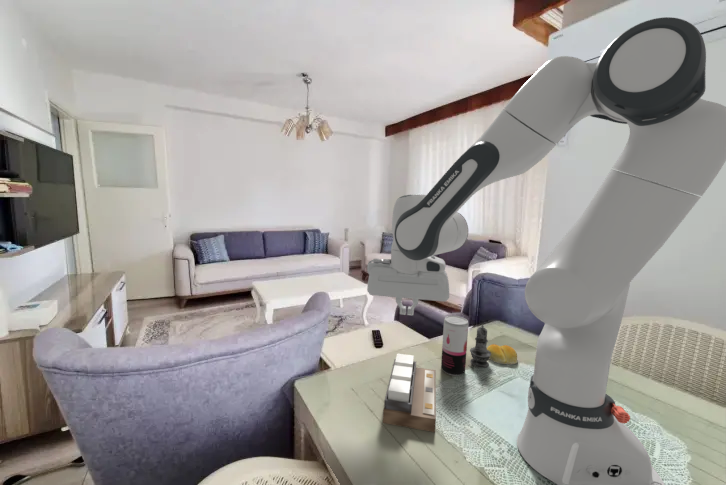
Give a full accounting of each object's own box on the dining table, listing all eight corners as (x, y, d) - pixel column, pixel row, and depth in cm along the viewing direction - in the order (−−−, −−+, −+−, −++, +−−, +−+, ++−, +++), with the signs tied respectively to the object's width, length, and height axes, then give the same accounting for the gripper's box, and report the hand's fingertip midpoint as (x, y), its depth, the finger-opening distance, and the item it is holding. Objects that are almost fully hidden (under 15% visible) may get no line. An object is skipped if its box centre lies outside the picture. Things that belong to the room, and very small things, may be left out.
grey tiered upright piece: (486, 358, 95) (490, 321, 93) (492, 369, 89) (496, 329, 87) (467, 357, 96) (469, 320, 94) (471, 367, 90) (474, 328, 88)
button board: (434, 380, 83) (435, 363, 82) (435, 432, 65) (436, 410, 64) (393, 374, 85) (394, 357, 85) (382, 422, 67) (383, 401, 66)
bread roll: (483, 350, 100) (484, 338, 100) (513, 354, 99) (514, 342, 98) (487, 363, 92) (488, 351, 92) (520, 367, 91) (521, 355, 90)
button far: (413, 364, 82) (413, 355, 82) (412, 373, 78) (412, 364, 78) (396, 362, 83) (397, 353, 83) (394, 371, 79) (395, 361, 79)
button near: (410, 391, 71) (410, 381, 70) (408, 404, 67) (408, 393, 66) (390, 388, 72) (391, 378, 71) (388, 400, 68) (388, 390, 67)
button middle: (411, 377, 77) (412, 367, 76) (410, 387, 72) (410, 377, 72) (394, 374, 78) (394, 365, 77) (391, 384, 73) (392, 374, 73)
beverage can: (470, 373, 87) (473, 322, 84) (451, 378, 84) (454, 326, 82) (454, 362, 93) (457, 314, 90) (436, 366, 90) (439, 317, 88)
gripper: (364, 260, 76) (363, 314, 78) (451, 266, 71) (448, 323, 73) (370, 255, 82) (369, 306, 84) (450, 260, 77) (447, 313, 79)
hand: (406, 314), depth 79 cm, fingers closed
